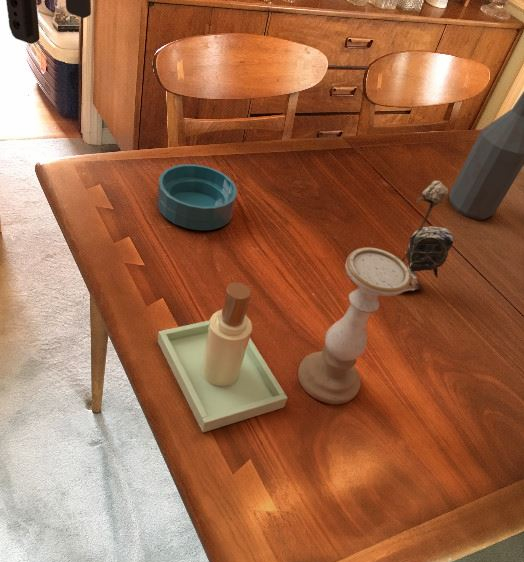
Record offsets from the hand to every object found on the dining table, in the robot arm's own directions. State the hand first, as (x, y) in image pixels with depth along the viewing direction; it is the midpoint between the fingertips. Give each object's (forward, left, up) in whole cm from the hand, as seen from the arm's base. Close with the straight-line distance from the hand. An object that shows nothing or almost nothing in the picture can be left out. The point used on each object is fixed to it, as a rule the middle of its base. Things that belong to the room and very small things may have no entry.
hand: (53, 26), depth 50 cm
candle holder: (+36, +5, -36) cm, 51 cm away
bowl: (+5, +32, -36) cm, 48 cm away
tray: (+22, -1, -36) cm, 42 cm away
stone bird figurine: (+43, +33, -36) cm, 65 cm away
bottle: (+54, +67, -36) cm, 93 cm away
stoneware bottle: (+22, -1, -36) cm, 42 cm away
